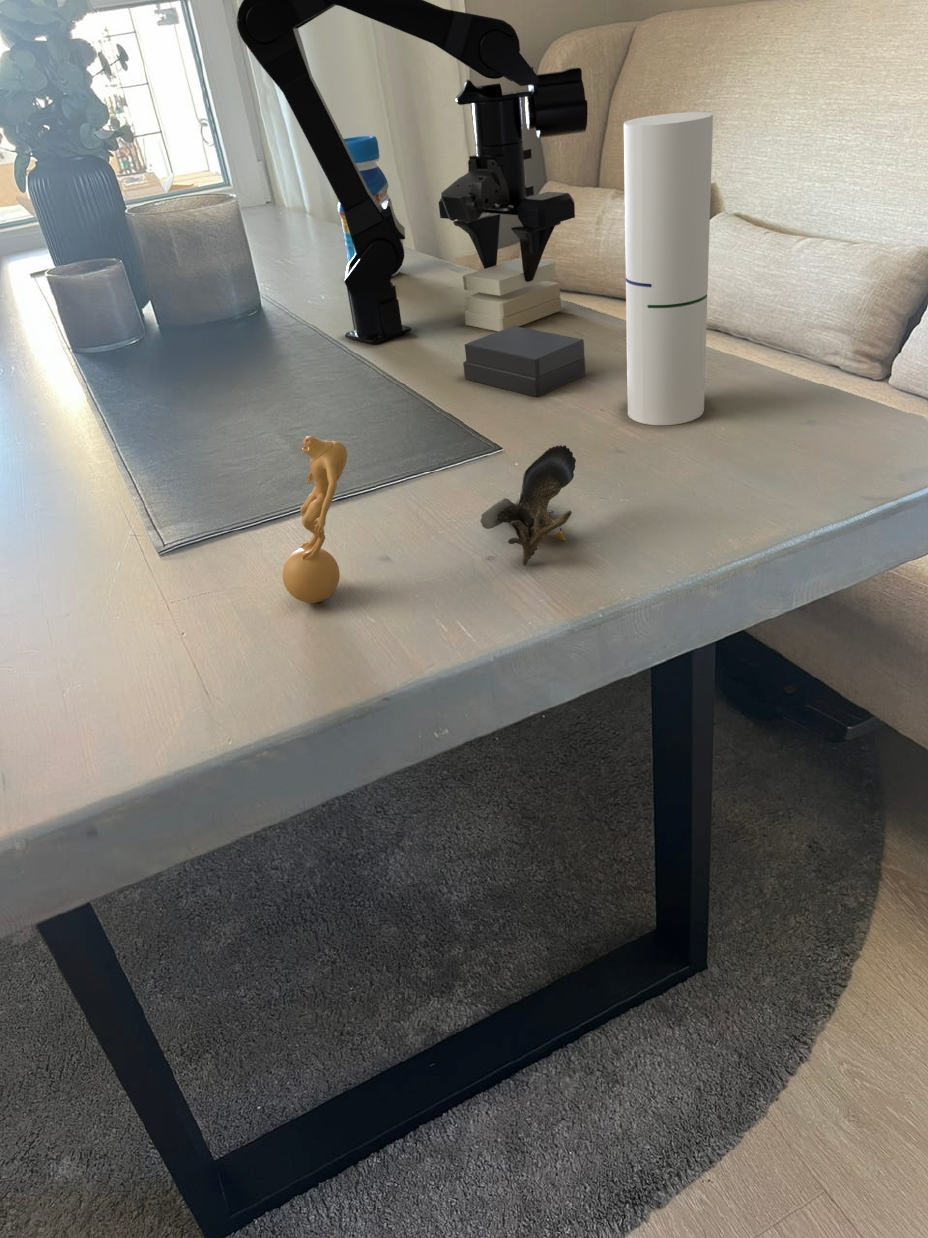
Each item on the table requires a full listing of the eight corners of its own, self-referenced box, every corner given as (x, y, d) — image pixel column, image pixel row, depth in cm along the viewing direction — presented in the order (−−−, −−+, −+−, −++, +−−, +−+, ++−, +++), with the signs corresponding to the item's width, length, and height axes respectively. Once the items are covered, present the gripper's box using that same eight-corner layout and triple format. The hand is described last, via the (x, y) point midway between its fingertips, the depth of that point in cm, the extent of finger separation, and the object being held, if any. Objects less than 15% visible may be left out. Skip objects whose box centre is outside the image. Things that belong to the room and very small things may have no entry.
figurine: (285, 576, 70) (249, 424, 64) (364, 561, 71) (336, 409, 65) (292, 634, 63) (252, 471, 57) (379, 616, 64) (349, 453, 58)
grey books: (464, 379, 104) (460, 343, 102) (513, 359, 108) (510, 324, 106) (536, 397, 97) (533, 359, 95) (586, 375, 101) (584, 338, 99)
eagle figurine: (604, 549, 66) (599, 475, 73) (544, 483, 63) (544, 411, 69) (518, 597, 70) (521, 522, 76) (457, 537, 66) (465, 464, 73)
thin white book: (519, 271, 125) (518, 257, 124) (556, 276, 121) (555, 261, 120) (463, 289, 120) (462, 275, 119) (499, 295, 116) (498, 280, 115)
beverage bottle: (372, 268, 157) (352, 135, 147) (411, 270, 153) (393, 133, 142) (338, 280, 152) (315, 143, 141) (378, 283, 147) (357, 142, 137)
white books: (503, 332, 118) (501, 303, 116) (465, 325, 122) (462, 296, 120) (561, 310, 123) (560, 282, 121) (522, 304, 128) (520, 277, 126)
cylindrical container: (656, 393, 94) (657, 112, 81) (718, 405, 90) (730, 110, 76) (612, 416, 90) (605, 125, 77) (674, 430, 86) (679, 124, 72)
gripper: (398, 153, 114) (415, 285, 122) (505, 155, 101) (516, 302, 110) (466, 138, 119) (477, 265, 128) (575, 139, 107) (580, 280, 116)
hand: (509, 278), depth 120 cm, fingers closed on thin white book, 7 cm apart
